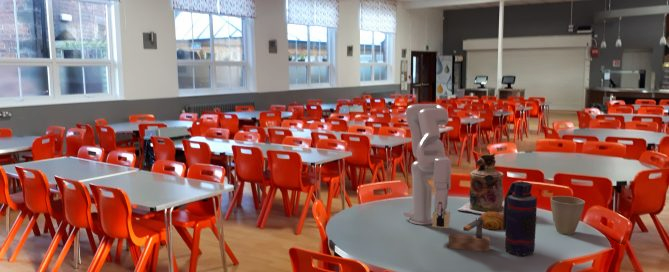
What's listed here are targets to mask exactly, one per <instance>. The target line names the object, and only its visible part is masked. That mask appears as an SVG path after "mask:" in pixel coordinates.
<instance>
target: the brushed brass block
mask: <svg viewBox="0 0 669 272" xmlns="http://www.w3.org/2000/svg"><path fill="white" fill-rule="evenodd" d="M432 218H433V221H432V224H431V227H432V228H440V229H449V228H450V225H451V224H450V223H451V212H450V211H447V210H446V211H444V216H443V218H444V227H438V226H436V225H437V211H434V210H433V213H432Z"/></svg>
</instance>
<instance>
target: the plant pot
mask: <svg viewBox="0 0 669 272" xmlns="http://www.w3.org/2000/svg"><path fill="white" fill-rule="evenodd" d="M585 204H586V201H585V200H583V199H581V198H579V197H573V196H568V195H555V196H551V197H550V207H551V214H552V219H553V223H554V227H555V229H556V232H557V233H558V234H560V235H561V234H562V235H568V236H569V235H573V234H574V233H575V231H576V230H577V228H578V226H579V223H580V222H581V221H580V220H581V217H582V215H583V211H584V207H585Z"/></svg>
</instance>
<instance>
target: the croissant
mask: <svg viewBox="0 0 669 272" xmlns="http://www.w3.org/2000/svg"><path fill="white" fill-rule="evenodd" d="M478 218H481V219H483V224H482V228H483V229H487V230H504V229H503V215H502V214H499V213H498V212H493V211H492V212H491V211H488V212H485V213H483V214H480V216H478Z"/></svg>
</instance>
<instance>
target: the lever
mask: <svg viewBox="0 0 669 272" xmlns="http://www.w3.org/2000/svg"><path fill="white" fill-rule="evenodd" d="M480 224H483V219H481V218H479V217H477V218H475V220H473V221H472V222H470V223H468V224H466V225H464V226H463V228H462V230H463V231H465V232H470V231H471V230H473V229H475V228H476V226H478V225H480Z"/></svg>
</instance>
